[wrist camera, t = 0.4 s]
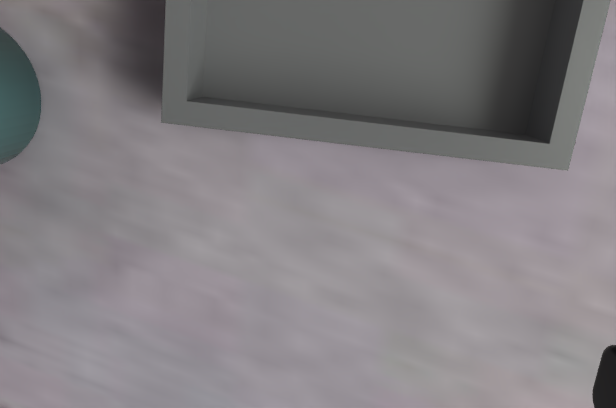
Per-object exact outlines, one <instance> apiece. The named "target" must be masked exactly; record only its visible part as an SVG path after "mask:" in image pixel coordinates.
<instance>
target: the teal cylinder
mask: <svg viewBox="0 0 616 408" xmlns="http://www.w3.org/2000/svg"><path fill="white" fill-rule="evenodd" d="M40 113H41V94H40V88H39V83H38V80H37V77H36V74H35V71H34V69H33V67H32V65H31V62H30V61H29V59H28V57H27V56H26V54H25V53H24V51H23V50H22V49H21V47H20V46H19V45H18V44H17V42H16V41H15V40H14V39H13V38H12V37H11V36H10V35H9V34H7V33H6V32H5V31H4V30H2V29H1V28H0V164H3V163H5V162H7V161H9V160H11V159H13V158H14V157H16V156H17V155H18V154H20V153H21V152H22V151H23V150H24V149H25V148H26V146H27V145H28V144H29V142H30V141H31V139H32V138H33V136H34V134H35V132H36V129H37V126H38V123H39V119H40Z"/></svg>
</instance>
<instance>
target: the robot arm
mask: <svg viewBox="0 0 616 408" xmlns="http://www.w3.org/2000/svg"><path fill="white" fill-rule="evenodd" d="M593 403H594V407H595V408H616V345H611V346H608V347H607V348H606V349H605V350H604V352H603V354H602V357H601V361H600V365H599V368H598V372H597V376H596V380H595V383H594V387H593Z"/></svg>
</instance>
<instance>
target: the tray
mask: <svg viewBox="0 0 616 408" xmlns="http://www.w3.org/2000/svg"><path fill="white" fill-rule="evenodd" d="M610 1H611V0H166V7H165V34H164V62H163V89H162V116H161V123H169V124H178V125H186V126H195V127H203V128H212V129H220V130H228V131H237V132H245V133H254V134H262V135H271V136H279V137H288V138H296V139H305V140H313V141H322V142H330V143H339V144H347V145H356V146H364V147H373V148H381V149H390V150H398V151H406V152H415V153H423V154H432V155H440V156H449V157H457V158H466V159H474V160H483V161H491V162H500V163H508V164H517V165H525V166H534V167H542V168H551V169H559V170H567V171H568V169H569V165H570V161H571V157H572V153H573V149H574V145H575V141H576V137H577V133H578V129H579V125H580V121H581V117H582V113H583V109H584V105H585V101H586V97H587V93H588V89H589V85H590V81H591V77H592V73H593V69H594V65H595V61H596V57H597V53H598V49H599V45H600V41H601V37H602V33H603V29H604V25H605V21H606V17H607V13H608V9H609V5H610Z"/></svg>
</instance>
